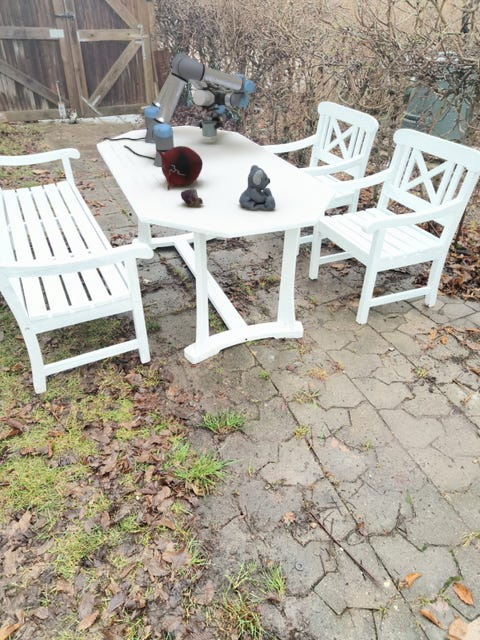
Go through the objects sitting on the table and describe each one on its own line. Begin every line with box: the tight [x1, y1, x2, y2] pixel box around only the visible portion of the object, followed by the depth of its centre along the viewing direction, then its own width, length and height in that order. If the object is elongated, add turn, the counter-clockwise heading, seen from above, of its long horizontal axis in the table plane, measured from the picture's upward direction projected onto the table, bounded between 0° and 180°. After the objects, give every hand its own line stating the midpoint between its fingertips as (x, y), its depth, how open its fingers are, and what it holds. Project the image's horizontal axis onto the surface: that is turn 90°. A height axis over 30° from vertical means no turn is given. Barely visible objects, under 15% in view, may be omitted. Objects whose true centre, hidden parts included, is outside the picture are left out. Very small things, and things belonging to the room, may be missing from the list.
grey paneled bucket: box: [192, 89, 212, 106], centre depth 314 cm, size 10×10×10 cm
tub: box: [201, 120, 218, 138], centre depth 332 cm, size 11×11×9 cm
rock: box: [180, 188, 204, 207], centre depth 229 cm, size 12×9×10 cm
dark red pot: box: [158, 145, 203, 191], centre depth 255 cm, size 21×24×25 cm
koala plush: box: [238, 164, 276, 211], centre depth 224 cm, size 17×18×20 cm
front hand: (198, 97), depth 317 cm, fingers closed on grey paneled bucket, 10 cm apart
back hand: (207, 127), depth 328 cm, fingers closed on tub, 11 cm apart
